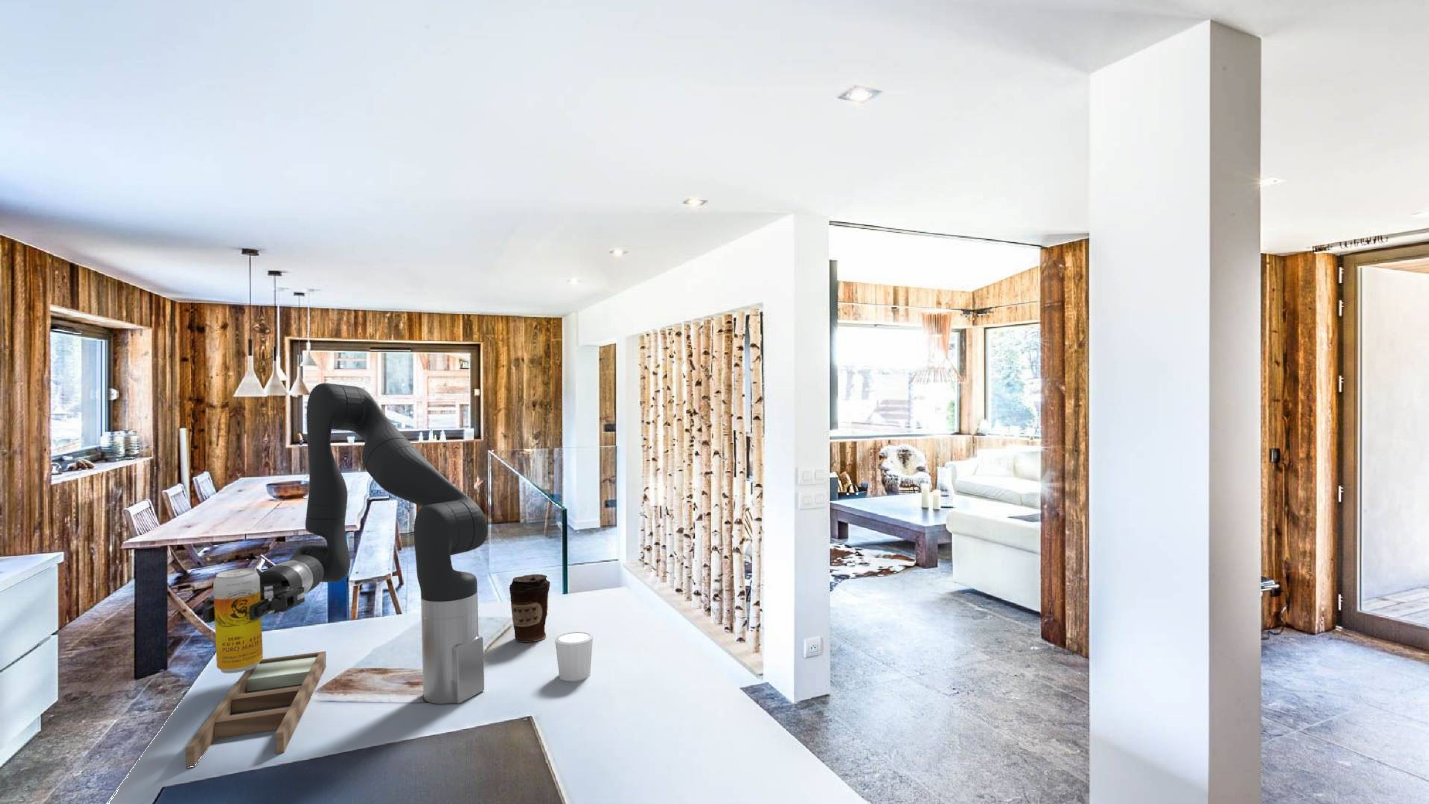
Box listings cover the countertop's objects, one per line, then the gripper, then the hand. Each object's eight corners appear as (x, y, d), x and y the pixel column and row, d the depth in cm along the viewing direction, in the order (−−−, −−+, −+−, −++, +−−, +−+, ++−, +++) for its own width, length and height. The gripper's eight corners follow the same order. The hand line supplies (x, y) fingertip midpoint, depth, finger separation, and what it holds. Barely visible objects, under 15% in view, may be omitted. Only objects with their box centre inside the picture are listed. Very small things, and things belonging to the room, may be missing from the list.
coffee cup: (545, 645, 149) (543, 582, 149) (505, 645, 149) (503, 583, 149) (555, 631, 158) (553, 572, 157) (517, 632, 158) (515, 572, 158)
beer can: (221, 678, 110) (217, 579, 109) (213, 667, 114) (209, 573, 114) (267, 666, 114) (263, 571, 114) (257, 657, 118) (253, 565, 118)
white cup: (589, 682, 129) (589, 643, 129) (551, 682, 129) (550, 643, 129) (596, 667, 136) (596, 630, 136) (560, 668, 136) (559, 631, 136)
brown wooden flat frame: (254, 676, 135) (253, 660, 135) (326, 666, 139) (325, 651, 139) (186, 768, 101) (185, 747, 101) (283, 752, 105) (283, 732, 105)
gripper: (237, 567, 127) (177, 593, 110) (323, 562, 129) (277, 588, 112) (238, 609, 127) (179, 642, 110) (325, 604, 129) (279, 636, 112)
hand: (229, 615), depth 111 cm, fingers closed on beer can, 6 cm apart
